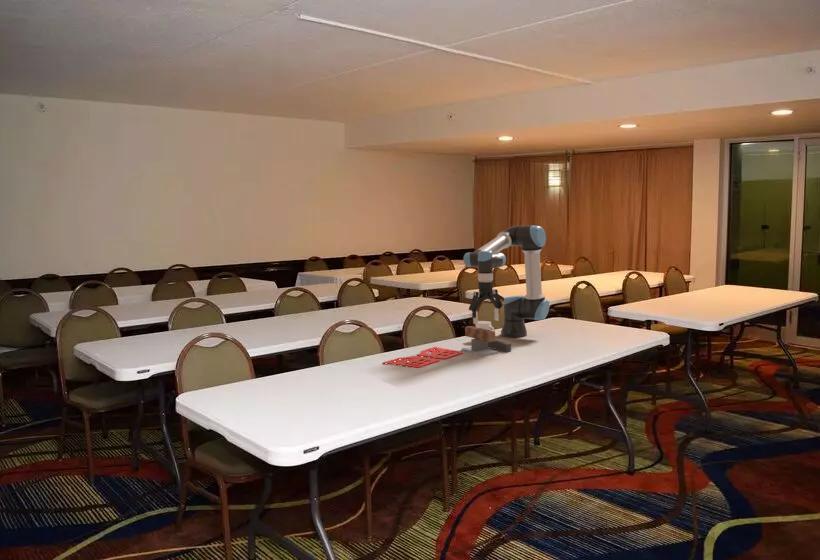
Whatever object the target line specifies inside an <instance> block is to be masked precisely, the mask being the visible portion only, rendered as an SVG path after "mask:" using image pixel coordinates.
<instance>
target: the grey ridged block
mask: <svg viewBox="0 0 820 560" xmlns="http://www.w3.org/2000/svg"><path fill="white" fill-rule="evenodd" d="M470 343H471V346H468V347H467V346H466V347H461V351H463V350H464V351H463V352H468V353H471V354H475V355H477V356H481V357H486V356H492V355H497V354H499V350H495V349H491V348H489V347H488V342H487V341H483V340H479V339H475V338H471V342H470Z"/></svg>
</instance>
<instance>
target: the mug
mask: <svg viewBox="0 0 820 560" xmlns="http://www.w3.org/2000/svg"><path fill="white" fill-rule="evenodd" d="M475 327H478V328H482V329H487V330H491V331H495V332H496V330H495V328H494V327H493V326H492V322H491V321H487V320H478V324H475Z"/></svg>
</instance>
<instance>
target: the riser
mask: <svg viewBox="0 0 820 560" xmlns="http://www.w3.org/2000/svg"><path fill="white" fill-rule="evenodd" d="M488 349H491V350H495V351H501V352H505V353H510V352H512V343H509V342H504V341H500V340H497V339H495V341H493V342H488Z"/></svg>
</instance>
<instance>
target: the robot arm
mask: <svg viewBox="0 0 820 560" xmlns="http://www.w3.org/2000/svg"><path fill="white" fill-rule="evenodd" d="M546 241H547V236H546V232H545V229H544V228H543V227H542V226H539V225H533V224H532V225H513V226H510V227H508V228H506V229H504V230H501V231H500V232H499V233H498V234H497V235H496V237H495V238H493V239H492V240H490V241H489V242H487V243H485V244H484V245H483V246H481V247H479V248H478V249H477V250H474V251H472V252H466V253H464V255H463V264H464V266H466V267H471V268H477V280H478V282H477V283H478V284H477V286H478V287H477V288H478V291H473V296H472V299H471V302H470V305H469V307H468V311H471V313H472V314H471V316H472V320H473V321H472V322H473V323H472V324H475V325H476V324H478V321H479V313H478V310H479V307H480V305H481V304H482V302H483V301H485V300H489V301H490V302H491V304H492V305H493V306H494V308H493V320H494V321H496V322H499V321H500V319H499V315H500V309H501V308H502V307H503V323H502V324H503V325H502V327H501V330H500V335H501V336H503V337H506V338H521V337H522V338H523V337H527V336H528V331H527V327H526V325H525V319H528V320H535V321H539V320H540V321H543V320H544V319H546V317H548V314H549V311H550V302H549V301H548V300H547V299H546V297H545V295H544V293H542V292H543V289H542V286H543V285H542V269H541V251H542V250H543V247H544V246H545V245H546ZM509 247H520V250H521V251H522V253H524V254H523V255H524V270H525V271H524V272H525V273H524V274H525V288H526V290H525V291H526V294H525V295H521V294H519V295H510V296H506V297H504V299H503V302H502V300H501V297H500V296H499V291H498V289H494V282H493V281H494V269H496V268H502V267H503V266H505V265H506V262H507V258H506V256H505V254H504V253H502V252H501V251H502V250H503V249H509Z"/></svg>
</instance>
